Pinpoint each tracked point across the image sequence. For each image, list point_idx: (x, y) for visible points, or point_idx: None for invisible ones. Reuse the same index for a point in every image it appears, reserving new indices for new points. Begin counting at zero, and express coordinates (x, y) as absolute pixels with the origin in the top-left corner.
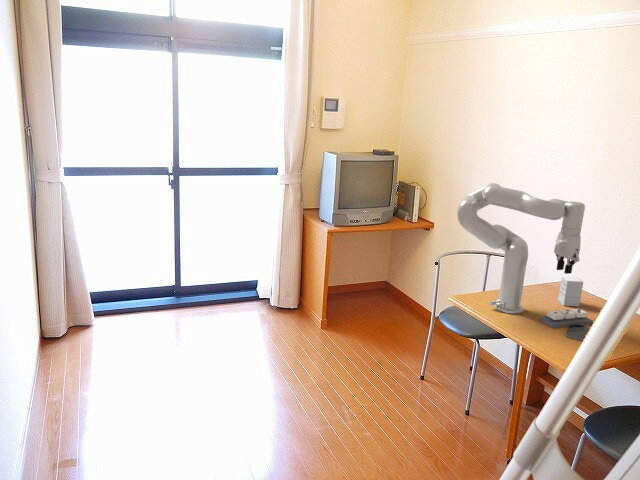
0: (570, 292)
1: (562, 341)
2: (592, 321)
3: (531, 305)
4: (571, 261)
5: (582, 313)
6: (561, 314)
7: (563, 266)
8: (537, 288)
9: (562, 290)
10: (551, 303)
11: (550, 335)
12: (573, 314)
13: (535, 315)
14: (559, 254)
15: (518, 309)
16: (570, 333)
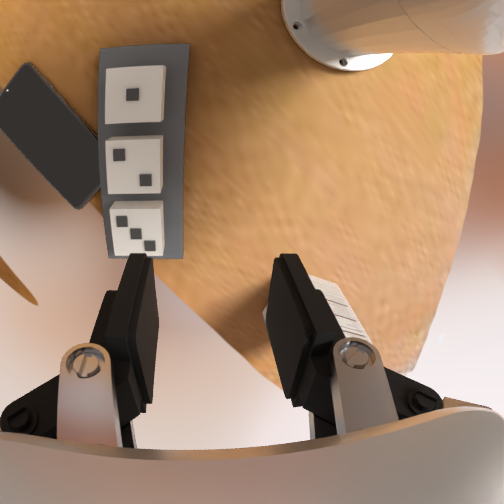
0: None
1: (9, 29)
2: (109, 254)
3: (339, 138)
4: (25, 416)
5: (112, 230)
6: (110, 112)
7: (273, 346)
8: (427, 283)
9: (332, 307)
10: (324, 238)
11: (54, 8)
12: (107, 180)
13: (241, 67)
14: (329, 458)
15: (302, 19)
16: (33, 89)
